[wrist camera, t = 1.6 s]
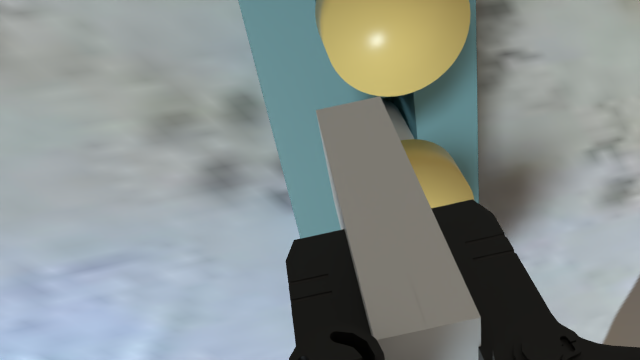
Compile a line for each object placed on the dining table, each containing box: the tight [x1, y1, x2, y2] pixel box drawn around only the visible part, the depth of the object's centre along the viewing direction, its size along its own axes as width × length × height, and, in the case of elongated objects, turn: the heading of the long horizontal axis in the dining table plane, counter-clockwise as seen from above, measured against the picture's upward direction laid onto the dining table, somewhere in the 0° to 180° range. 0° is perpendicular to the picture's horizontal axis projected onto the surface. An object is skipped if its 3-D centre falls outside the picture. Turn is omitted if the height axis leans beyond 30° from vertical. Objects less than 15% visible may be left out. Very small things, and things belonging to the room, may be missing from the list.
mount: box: [238, 0, 479, 239], centre depth 31 cm, size 10×26×6 cm, turn 10°
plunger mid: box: [382, 99, 474, 208], centre depth 27 cm, size 5×5×8 cm
